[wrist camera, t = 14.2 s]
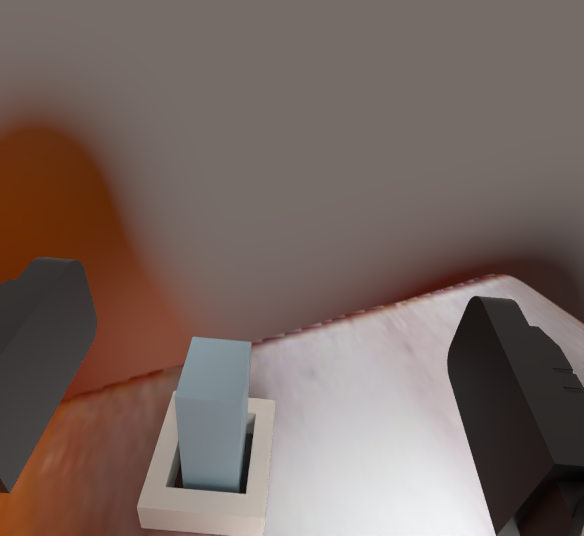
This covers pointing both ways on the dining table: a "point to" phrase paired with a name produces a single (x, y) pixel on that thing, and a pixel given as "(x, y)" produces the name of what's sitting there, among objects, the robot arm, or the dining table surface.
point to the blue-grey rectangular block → (213, 414)
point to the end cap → (208, 504)
